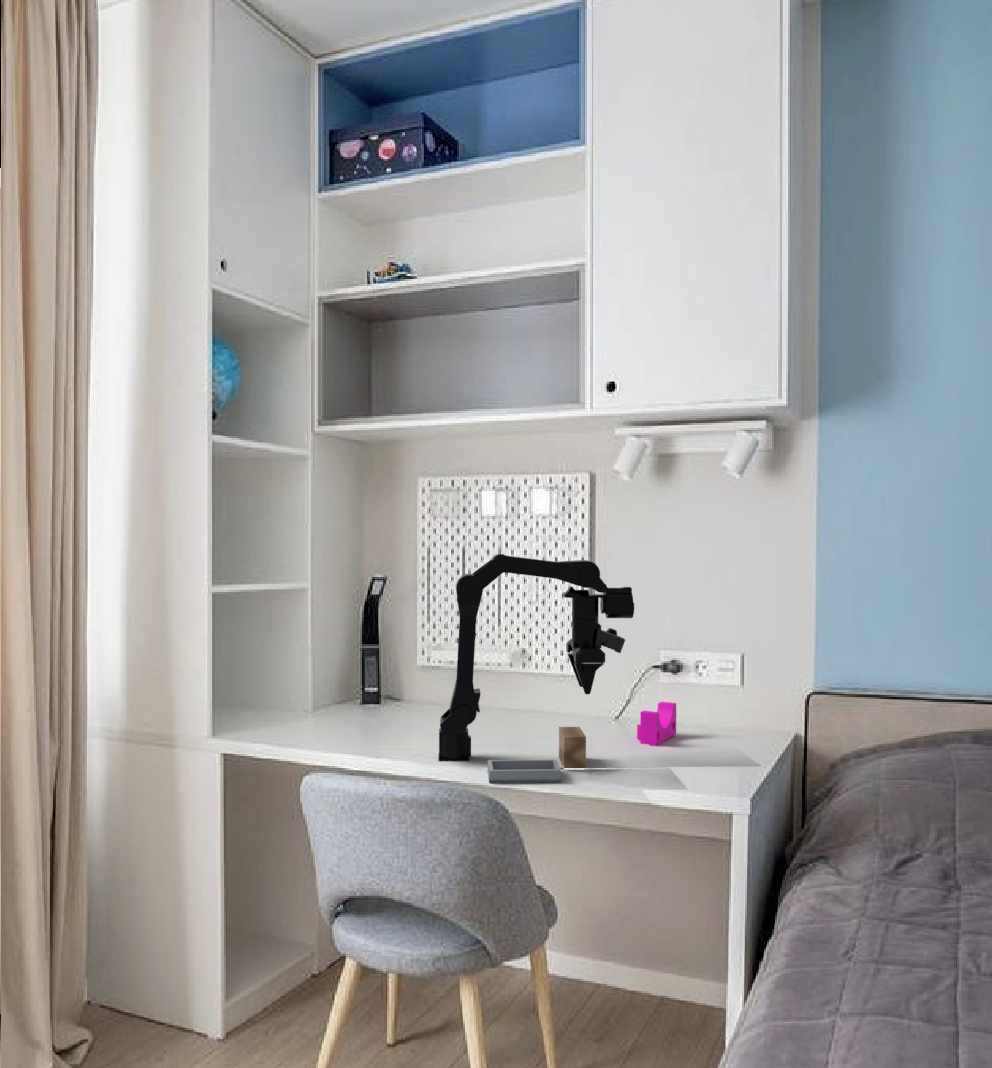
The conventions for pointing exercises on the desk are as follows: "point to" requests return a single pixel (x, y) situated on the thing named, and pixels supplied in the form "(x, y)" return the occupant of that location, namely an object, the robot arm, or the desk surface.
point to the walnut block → (572, 747)
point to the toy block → (657, 724)
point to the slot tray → (524, 771)
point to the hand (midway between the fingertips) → (584, 690)
